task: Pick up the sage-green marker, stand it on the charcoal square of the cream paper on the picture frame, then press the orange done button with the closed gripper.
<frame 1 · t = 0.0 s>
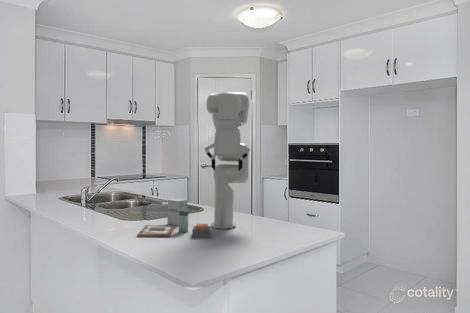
hand: (226, 170, 138), 31 cm above the counter, tool pointing down, fingers open, 9 cm apart
supplement box: (177, 224, 188), on the counter
button housing: (201, 235, 163), on the counter
marker: (183, 231, 170), on the counter
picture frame: (157, 231, 168), on the counter
done button: (202, 227, 163), point 4 cm above the counter, slide at 0.0 cm
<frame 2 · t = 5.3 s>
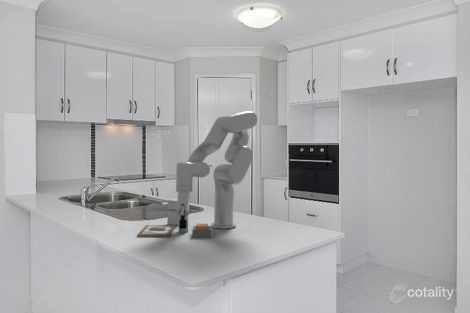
hand: (183, 226, 170), 2 cm above the counter, tool pointing down, fingers closed on marker, 4 cm apart
marker: (183, 231, 170), on the counter, touching gripper
everything else where it was.
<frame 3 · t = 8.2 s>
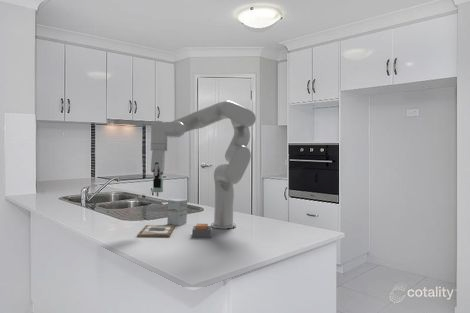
hand: (158, 186, 168), 21 cm above the counter, tool pointing down, fingers closed on marker, 4 cm apart
marker: (157, 191, 168), point 19 cm above the counter, touching gripper
everything else where it was.
when the fingers open (5 cm above the counter, at t = 11.4 s): marker drops 1 cm, resting on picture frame.
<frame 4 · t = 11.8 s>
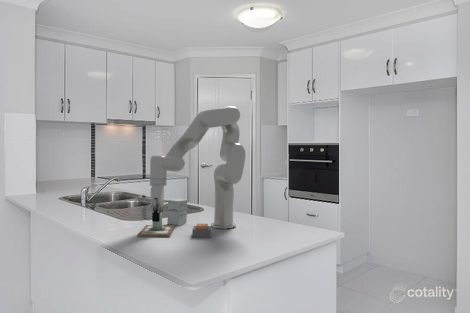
hand: (157, 219, 168), 6 cm above the counter, tool pointing down, fingers open, 8 cm apart
marker: (157, 229, 168), point 1 cm above the counter, touching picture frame
everything else where it was.
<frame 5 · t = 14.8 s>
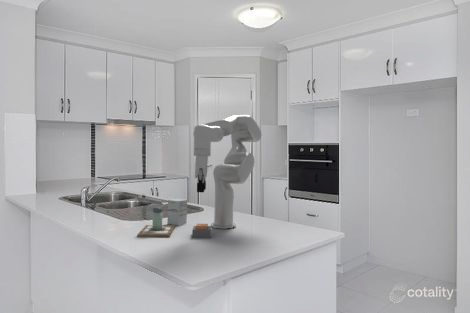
hand: (201, 190, 163), 20 cm above the counter, tool pointing down, fingers open, 9 cm apart
nothing on the counter moved.
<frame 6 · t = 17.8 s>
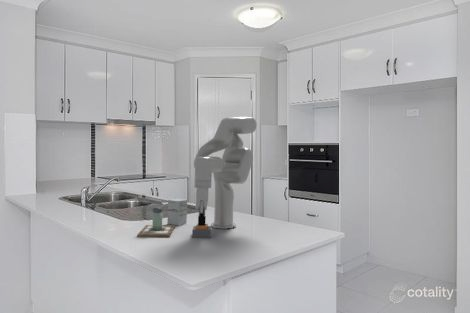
hand: (201, 225, 163), 5 cm above the counter, tool pointing down, fingers closed
done button: (202, 228, 163), point 3 cm above the counter, slide at 0.1 cm, touching gripper
everything else where it was.
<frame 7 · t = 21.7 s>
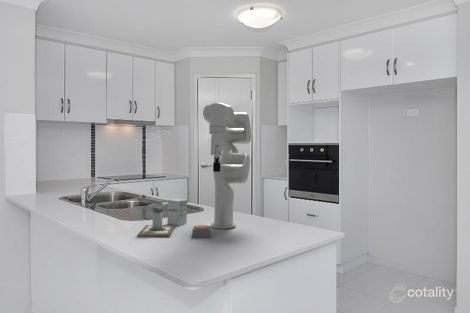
hand: (216, 171, 163), 29 cm above the counter, tool pointing down, fingers closed
done button: (202, 229, 163), point 3 cm above the counter, slide at 0.7 cm
everything else where it was.
at the end: marker 0.0 cm off-centre on the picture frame, point 1.3 cm above the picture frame's base; marker tilted 0°; done button slide at 0.7 cm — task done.
